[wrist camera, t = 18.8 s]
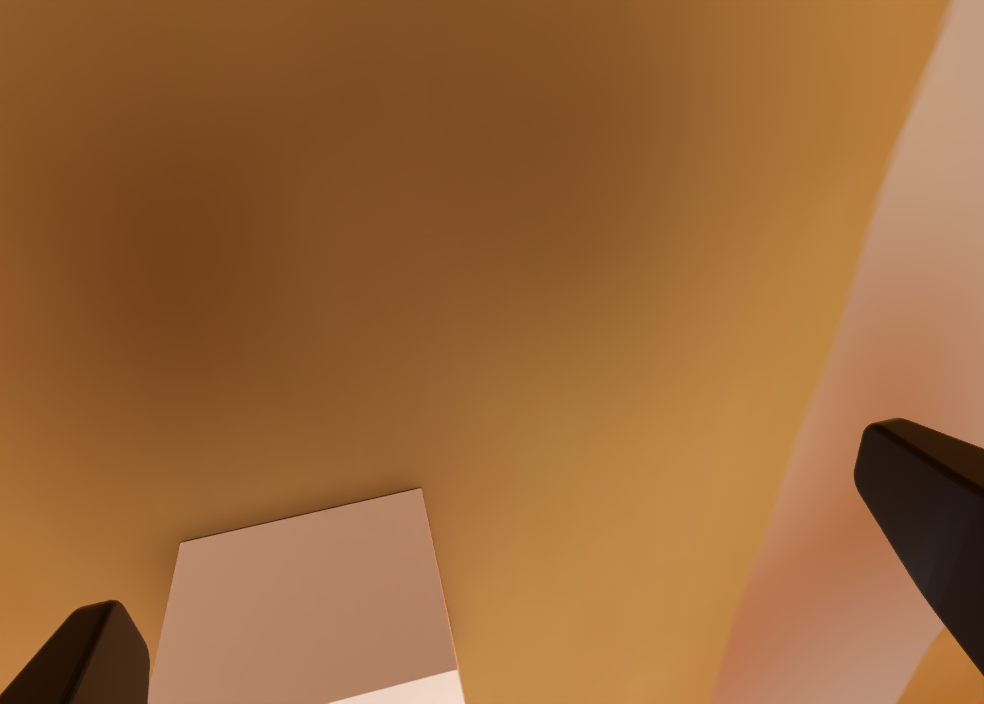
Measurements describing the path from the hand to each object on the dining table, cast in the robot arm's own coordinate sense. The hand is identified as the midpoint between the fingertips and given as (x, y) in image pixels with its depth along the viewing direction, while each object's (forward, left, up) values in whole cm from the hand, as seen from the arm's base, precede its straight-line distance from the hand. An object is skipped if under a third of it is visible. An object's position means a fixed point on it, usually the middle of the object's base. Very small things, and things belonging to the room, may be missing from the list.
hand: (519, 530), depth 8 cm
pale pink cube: (+5, +13, -12) cm, 19 cm away
